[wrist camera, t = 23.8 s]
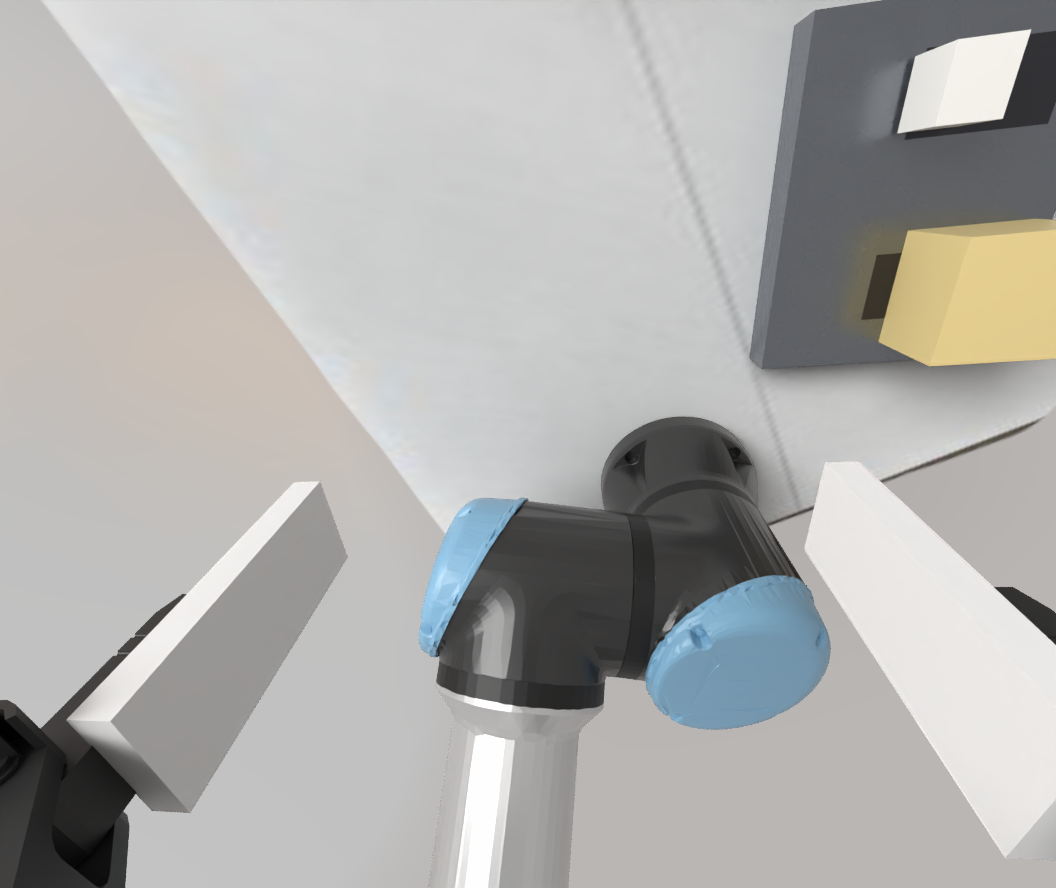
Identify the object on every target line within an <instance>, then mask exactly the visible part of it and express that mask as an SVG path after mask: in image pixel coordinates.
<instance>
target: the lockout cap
mask: <svg viewBox="0 0 1056 888" xmlns="http://www.w3.org/2000/svg"><path fill="white" fill-rule="evenodd" d="M878 342H880V343H882V344H884V345H886V346H888V347H890V348H892V349H894V350H896V351H898V352H900V353H902V354H904V355H907V356H909V357H911V358H913V359H915V360H917V361H919V362H921V363H923V364H925V365H927V366H943V365H960V364H976V363H993V362H1009V361H1026V360H1042V359H1056V220H1050V219H1026V220H1015V221H1005V222H994V223H983V224H972V225H962V226H951V227H940V228H929V229H918V230H908V232H907V236H906V239H905V243H904V247H903V251H902V255H901V258H900V262H899V266H898V270H897V273H896V277H895V281H894V285H893V288H892V292H891V296H890V300H889V304H888V307H887V311H886V315H885V319H884V322H883V326H882V330H881V334H880V338H879V341H878Z"/></svg>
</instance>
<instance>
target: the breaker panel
mask: <svg viewBox="0 0 1056 888" xmlns="http://www.w3.org/2000/svg"><path fill="white" fill-rule="evenodd" d="M1030 29H1031V32H1030V36H1029V39H1028V42H1027V45H1026V48H1025V51H1024V54H1023V57H1022V60H1021V64H1020V67H1019V70H1018V73H1017V76H1016V79H1015V82H1014V85H1013V88H1012V92H1011V95H1010V98H1009V101H1008V104H1007V107H1006V110H1005V113H1004V116H1003V119H998V120H993V121H987V122H981V123H975V124H970V125H964V126H958V127H950V128H941V129H932V130H924V131H915V132H906V133H897V132H898V128H899V124H900V120H901V115H902V111H903V107H904V103H905V98H906V94H907V90H908V86H909V81H910V77H911V73H912V69H913V64H914V60H915V56H917V55H920V54H922V53H925V52H927V51H930V50H932V49H935V48H937V47H940V46H943V45H945V44H948V43H950V42H953V41H955V40H958V39H964V38H971V37H979V36H986V35H993V34H1001V33H1008V32H1016V31H1023V30H1030ZM1055 210H1056V0H882V1H875V2H868V3H861V4H854V5H848V6H841V7H834V8H827V9H820V10H815V11H814V12H812V13H811V14H810V15H808V16H807V17H806V18H804V19H803V20H802V21H800V22H799V23H798V24H796V25H795V26H794V33H793V40H792V47H791V55H790V62H789V70H788V77H787V84H786V92H785V99H784V107H783V114H782V121H781V129H780V136H779V144H778V151H777V159H776V166H775V173H774V181H773V188H772V196H771V203H770V210H769V218H768V225H767V233H766V240H765V247H764V255H763V262H762V270H761V277H760V284H759V292H758V299H757V307H756V314H755V321H754V329H753V336H752V344H751V351H750V359H751V360H752V361H753V362H755V363H756V364H757V365H758V366H759V367H760V368H761V369H769V368H786V367H802V366H819V365H835V364H852V363H868V362H885V361H901V360H915V359H913V358H911V357H909V356H907V355H904V354H902V353H900V352H898V351H896V350H894V349H892V348H890V347H888V346H886V345H884V344H882V343H880V342H878V341H879V338H880V334H881V330H882V326H883V322H884V319H885V315H886V311H887V307H888V304H889V300H890V296H891V292H892V288H893V285H894V281H895V277H896V273H897V270H898V266H899V262H900V258H901V255H902V251H903V247H904V243H905V239H906V236H907V232H908V230H918V229H929V228H940V227H951V226H962V225H972V224H983V223H994V222H1005V221H1015V220H1026V219H1050V220H1052V218H1053V215H1054V213H1055Z"/></svg>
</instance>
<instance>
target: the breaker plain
mask: <svg viewBox="0 0 1056 888" xmlns="http://www.w3.org/2000/svg"><path fill="white" fill-rule="evenodd" d="M1030 32H1031V29H1030V30H1023V31H1016V32H1008V33H1001V34H993V35H986V36H979V37H971V38H964V39H958V40H955V41H953V42H950V43H948V44H945V45H943V46H940V47H937V48H935V49H932V50H930V51H927V52H925V53H922V54H920V55H917V56H915V60H914V64H913V69H912V73H911V77H910V81H909V86H908V90H907V94H906V98H905V103H904V107H903V111H902V115H901V120H900V124H899V128H898V132H897V133H906V132H915V131H924V130H932V129H941V128H950V127H958V126H964V125H970V124H975V123H981V122H987V121H993V120H998V119H1003V116H1004V113H1005V110H1006V107H1007V104H1008V101H1009V98H1010V95H1011V92H1012V88H1013V85H1014V82H1015V79H1016V76H1017V73H1018V70H1019V67H1020V64H1021V60H1022V57H1023V54H1024V51H1025V48H1026V45H1027V42H1028V39H1029V36H1030Z"/></svg>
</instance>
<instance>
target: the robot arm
mask: <svg viewBox="0 0 1056 888" xmlns="http://www.w3.org/2000/svg"><path fill="white" fill-rule="evenodd" d="M601 490H602V499H603V504H604V508H605V510H598V509H589V508H580V507H572V506H564V505H555V504H547V503H539V502H531V501H528V499H527V498H520V499H518V500H511V499H494V498H479V499H475V500H472V501H470V502H469V503H467V504H466V505H465V506H464V507H463V508H462V509H461V510H460V511H459V512H458V513H457V515H456V516H455V518H454V520H453V522H452V523H451V525H450V527H449V529H448V531H447V533H446V535H445V537H444V540H443V542H442V544H441V547H440V550H439V552H438V555H437V558H436V560H435V563H434V566H433V570H432V573H431V576H430V579H429V583H428V587H427V590H426V595H425V598H424V603H423V608H422V614H421V615H422V616H421V618H422V622H421V626H420V630H419V644H420V646H421V649H422V650H423V651H424V652H426V653H428V654H429V655H430V656H431V657H438V656H439V657H440V661H439V668H438V674H437V680H436V688H437V690H438V692H439V693H440V694H441V696H442V697H443V699H444V701H445V702H446V703H447V705H448V706H449V708H450V709H451V712H452V715H453V723H452V730H451V736H450V743H449V749H448V756H447V763H446V770H445V776H444V783H443V790H442V797H441V804H440V810H439V817H438V824H437V830H436V837H435V844H434V851H433V857H432V864H431V871H430V878H429V884H428V888H568V883H569V869H570V855H571V840H572V825H573V810H574V795H575V781H576V766H577V752H578V737H579V733H580V731H581V729H582V728H583V727H584V726H585V725H586V724H587V723H588V722H589V721H590V720H591V719H593V718H594V716H596V715H597V714H598V713H599V712H600V711H601V710H602V709H603V703H604V685H605V679H606V677H607V676H608V677H619V678H627V679H634V680H642V681H646V688H647V691H648V692H649V695H650V696H651V698H652V699H653V701H654V703H655V705H656V706H657V708H658V709H659V710H660V711H661V712H662V713H663V714H665V715H669V716H670V717H671V719H672V720H674V721H675V722H677V723H679V724H682V725H685V726H689V727H693V728H699V729H714V730H717V729H731V728H739V727H743V726H748V725H752V724H756V723H759V722H762V721H764V720H767V719H770V718H772V717H774V716H775V715H777V714H780V713H782V712H784V711H786V710H788V709H790V708H791V707H793V706H795V705H796V704H798V703H799V702H800V701H801V700H803V699H804V698H805V697H806V696H807V695H808V694H809V693H810V692H811V691H812V690H813V689H814V688H815V687H816V686H817V684H818V683H819V682H820V680H821V678H822V677H823V675H824V673H825V671H826V669H827V666H828V663H829V658H830V640H829V636H828V632H827V630H826V627H825V625H824V623H823V621H822V619H821V617H820V615H819V613H818V611H817V609H816V607H815V605H814V600H813V596H812V593H811V591H810V590H809V589H808V588H807V585H805V584H804V582H803V581H802V580H801V578H800V576H799V574H798V573H797V571H796V569H795V568H794V566H793V565H792V564H791V561H790V560H789V558H788V557H787V555H786V553H785V552H784V550H783V549H782V547H781V545H780V544H779V542H778V541H777V539H776V537H775V536H774V534H773V532H772V531H771V529H770V528H769V526H768V524H767V523H766V521H765V520H764V518H763V516H762V515H761V513H760V512H759V510H758V498H757V477H756V472H755V468H754V465H753V462H752V460H751V458H750V456H749V455H748V453H747V452H746V450H745V449H744V447H743V446H742V444H741V443H740V442H739V440H738V439H737V438H736V437H735V436H734V435H733V434H732V433H731V432H729V431H728V430H727V429H725V428H723V427H722V426H720V425H718V424H716V423H713V422H711V421H708V420H704V419H700V418H694V417H671V418H665V419H660V420H657V421H654V422H651V423H648V424H646V425H643V426H641V427H639V428H638V429H636V430H634V431H633V432H631V433H630V434H628V435H627V436H626V437H625V438H623V439H622V440H621V441H620V442H619V443H618V444H617V445H616V447H615V448H614V449H613V450H612V452H611V453H610V455H609V457H608V458H607V460H606V463H605V465H604V468H603V472H602V477H601ZM804 551H805V552H806V554H807V555H808V557H809V558H810V560H811V561H812V563H813V564H814V566H815V567H816V569H817V570H818V572H819V574H820V575H821V577H822V578H823V580H824V581H825V583H826V584H827V586H828V587H829V589H830V590H831V592H832V593H833V595H834V597H835V598H836V600H837V601H838V603H839V604H840V606H841V607H842V608H843V610H844V612H845V613H846V615H847V616H848V618H849V619H850V621H851V623H852V624H853V626H854V627H855V629H856V630H857V632H858V633H859V635H860V636H861V638H862V639H863V641H864V642H865V644H866V646H867V647H868V649H869V650H870V652H871V653H872V655H873V656H874V658H875V659H876V661H877V662H878V664H879V665H880V667H881V669H882V670H883V672H884V673H885V675H886V676H887V678H888V679H889V681H890V682H891V684H892V685H893V687H894V688H895V690H896V691H897V693H898V695H899V696H900V698H901V699H902V701H903V702H904V704H905V705H906V707H907V708H908V710H909V711H910V713H911V715H912V716H913V718H914V719H915V721H916V722H917V724H918V725H919V727H920V728H921V730H922V731H923V733H924V734H925V736H926V738H927V739H928V741H929V742H930V744H931V745H932V747H933V748H934V750H935V751H936V753H937V754H938V756H939V757H940V759H941V760H942V762H943V763H944V765H945V767H946V768H947V770H948V771H949V773H950V774H951V776H952V777H953V779H954V780H955V782H956V783H957V785H958V787H959V788H960V790H961V791H962V793H963V794H964V796H965V797H966V799H967V800H968V802H969V803H970V805H971V806H972V808H973V809H974V811H975V813H976V814H977V816H978V817H979V819H980V820H981V822H982V823H983V825H984V826H985V828H986V829H987V831H988V833H989V834H990V835H991V837H992V839H993V840H994V842H995V843H996V845H997V846H998V848H999V849H1000V851H1001V852H1002V854H1003V855H1004V857H1005V858H1011V859H1029V860H1049V861H1056V613H1055V612H1054V611H1052V610H1051V609H1050V608H1048V607H1046V606H1044V605H1043V604H1041V603H1039V602H1038V601H1036V600H1034V599H1032V598H1031V597H1029V596H1027V595H1025V594H1024V593H1022V592H1020V591H1019V590H1017V589H1015V588H1013V587H993V586H992V585H991V584H990V583H988V581H987V580H985V579H984V578H983V577H982V576H981V575H980V574H979V573H978V572H977V571H976V570H975V569H974V568H973V567H972V566H970V565H969V564H968V563H967V562H966V561H965V560H964V559H963V558H962V557H961V556H960V555H959V554H957V552H955V551H954V550H953V549H952V548H951V547H950V546H949V545H948V544H947V543H946V542H945V541H944V540H943V539H942V538H940V537H939V536H938V535H937V534H936V533H935V532H934V531H933V530H932V529H931V528H930V527H929V526H928V525H926V524H925V523H924V522H923V521H922V520H921V519H920V518H919V517H918V516H917V515H916V514H915V513H913V512H912V511H911V510H910V509H909V508H908V507H907V506H906V505H905V504H904V503H903V502H902V501H901V500H900V499H899V498H898V497H896V496H895V495H894V494H893V493H892V492H891V491H890V490H889V489H888V488H887V487H886V486H885V485H884V484H883V483H881V482H880V481H879V480H878V479H877V478H876V477H875V476H874V475H873V474H872V473H871V472H870V471H869V470H868V469H866V468H865V467H864V466H863V465H862V464H861V463H860V462H859V461H854V462H827V463H825V464H824V469H823V473H822V477H821V481H820V485H819V489H818V493H817V498H816V502H815V506H814V510H813V514H812V518H811V522H810V527H809V531H808V535H807V539H806V543H805V547H804ZM346 559H347V554H346V551H345V548H344V546H343V543H342V540H341V538H340V535H339V532H338V529H337V526H336V524H335V521H334V518H333V516H332V513H331V510H330V507H329V505H328V502H327V499H326V497H325V494H324V491H323V488H322V486H321V483H320V482H294V483H293V484H292V485H291V486H290V488H289V489H287V490H286V492H285V493H284V494H283V495H282V496H281V497H280V498H279V499H278V500H277V501H276V502H275V503H274V504H273V505H272V506H271V507H270V508H269V509H268V510H267V511H266V513H264V515H262V517H261V518H260V519H259V520H258V521H257V522H256V523H255V524H254V525H253V526H252V527H251V528H250V529H249V530H248V531H247V532H246V533H245V534H244V535H243V537H241V538H240V540H238V542H237V543H236V544H235V545H234V546H233V547H232V548H231V549H230V550H229V551H228V552H227V553H226V554H225V555H224V556H223V557H222V558H221V559H220V560H219V562H217V563H216V565H214V566H213V568H212V569H211V570H210V571H209V572H208V573H207V574H206V575H205V576H204V577H203V578H202V579H201V580H200V581H199V582H198V583H197V584H196V585H195V586H194V587H193V588H192V589H191V590H190V592H189V593H188V594H182V595H181V596H179V597H178V598H176V599H175V600H173V601H172V602H171V603H169V604H168V605H166V606H165V607H163V608H162V609H160V610H159V611H158V612H156V613H155V614H154V615H153V616H152V617H151V618H150V619H149V620H148V621H147V622H146V623H145V624H144V625H143V626H142V627H141V628H140V629H139V630H138V631H137V632H136V633H135V637H134V638H130V640H129V641H127V643H125V644H124V645H123V647H121V648H120V650H118V654H117V656H113V657H112V658H111V659H110V660H109V661H108V662H107V663H106V664H105V665H104V666H103V667H102V668H101V669H100V670H99V671H98V672H97V673H96V674H95V675H94V676H93V677H92V678H91V679H90V680H89V681H88V682H87V683H86V684H85V685H84V686H83V687H82V688H81V689H80V690H79V691H78V692H77V693H76V694H75V695H74V696H73V697H72V698H71V699H70V700H69V701H68V702H67V703H66V704H65V705H64V706H63V707H62V708H61V709H60V710H59V711H58V712H57V713H56V714H55V715H54V716H53V717H52V718H51V719H50V720H49V721H48V722H47V723H46V724H45V725H44V726H43V727H42V728H41V729H40V728H38V726H37V725H36V724H35V723H34V722H33V721H32V720H31V719H30V718H29V717H27V716H26V715H25V714H24V713H23V712H22V711H21V710H20V709H19V708H18V707H17V706H16V705H15V704H14V703H12V702H10V701H8V700H0V888H125V881H126V867H127V852H128V839H129V822H128V817H127V815H126V814H125V813H124V812H123V810H124V809H125V808H126V806H127V805H128V803H129V802H130V801H131V799H132V798H133V797H134V795H135V794H137V795H138V797H139V798H140V799H141V800H142V801H143V802H144V803H145V804H146V805H147V806H148V807H149V808H150V809H151V810H152V811H166V812H183V813H190V812H191V811H192V809H193V807H194V806H195V804H196V803H197V801H198V799H199V798H200V796H201V795H202V793H203V791H204V790H205V788H206V786H207V785H208V783H209V781H210V780H211V778H212V777H213V775H214V773H215V772H216V770H217V769H218V767H219V765H220V764H221V762H222V760H223V759H224V757H225V756H226V754H227V752H228V751H229V749H230V747H231V746H232V744H233V742H234V741H235V739H236V738H237V736H238V734H239V733H240V731H241V729H242V728H243V726H244V725H245V723H246V721H247V720H248V718H249V716H250V715H251V713H252V712H253V710H254V708H255V707H256V705H257V703H258V702H259V700H260V699H261V697H262V695H263V694H264V692H265V691H266V689H267V687H268V686H269V684H270V682H271V681H272V679H273V677H274V676H275V674H276V673H277V671H278V669H279V668H280V666H281V665H282V663H283V661H284V660H285V658H286V657H287V655H288V653H289V652H290V650H291V648H292V647H293V645H294V643H295V642H296V640H297V639H298V637H299V635H300V634H301V632H302V630H303V629H304V627H305V626H306V624H307V622H308V621H309V619H310V617H311V616H312V614H313V612H314V611H315V609H316V608H317V606H318V605H319V603H320V601H321V600H322V598H323V596H324V595H325V593H326V592H327V590H328V588H329V587H330V585H331V583H332V582H333V580H334V579H335V577H336V575H337V574H338V572H339V570H340V569H341V567H342V565H343V564H344V562H345V561H346Z"/></svg>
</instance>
